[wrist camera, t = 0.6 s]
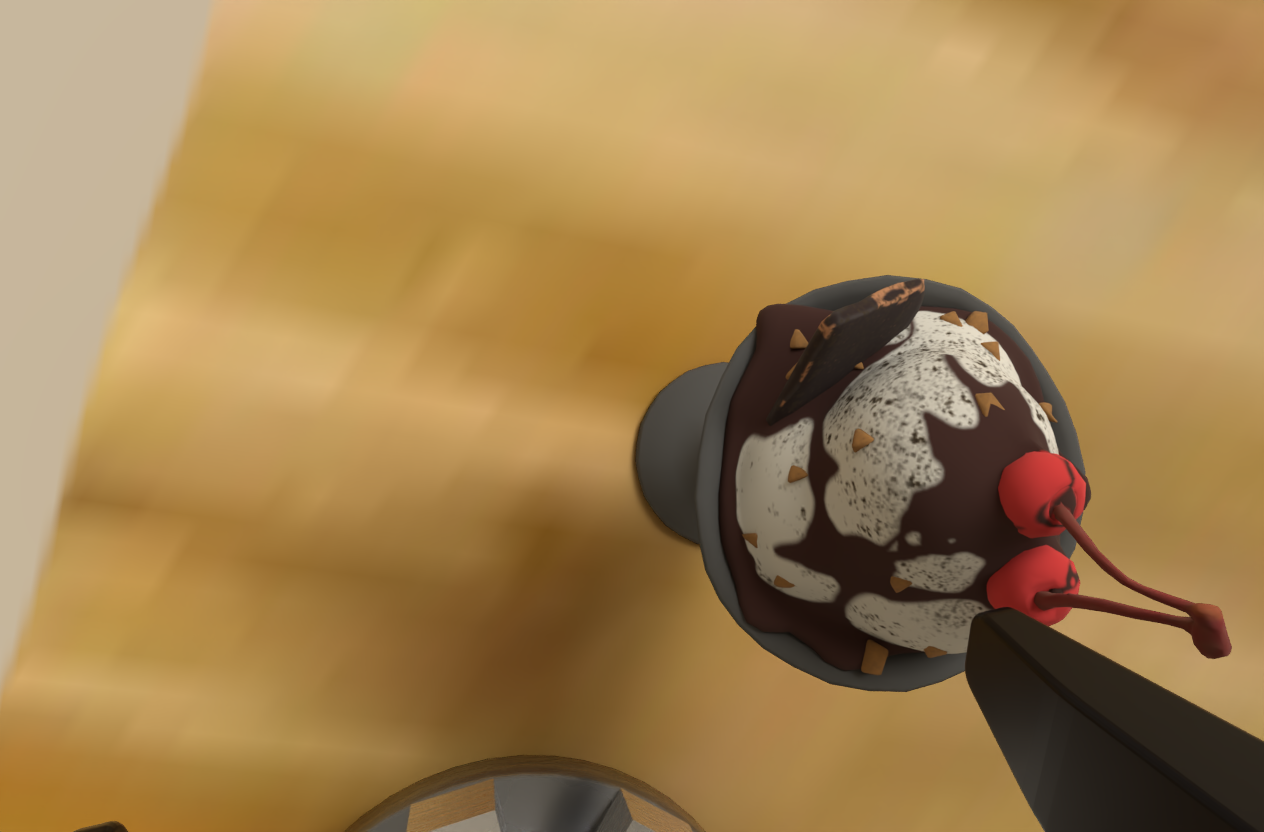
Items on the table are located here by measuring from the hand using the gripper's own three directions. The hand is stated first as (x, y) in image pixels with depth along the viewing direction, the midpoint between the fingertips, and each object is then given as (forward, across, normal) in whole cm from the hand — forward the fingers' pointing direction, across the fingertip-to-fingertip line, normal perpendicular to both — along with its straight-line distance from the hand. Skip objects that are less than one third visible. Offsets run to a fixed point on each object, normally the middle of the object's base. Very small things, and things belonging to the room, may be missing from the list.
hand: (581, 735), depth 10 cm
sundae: (+13, -6, +6) cm, 16 cm away
